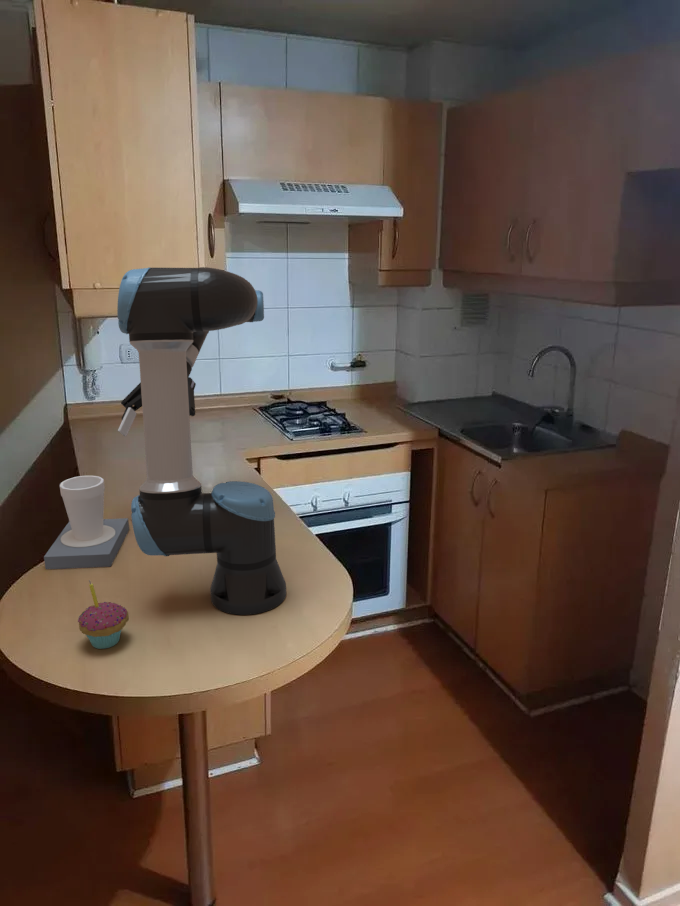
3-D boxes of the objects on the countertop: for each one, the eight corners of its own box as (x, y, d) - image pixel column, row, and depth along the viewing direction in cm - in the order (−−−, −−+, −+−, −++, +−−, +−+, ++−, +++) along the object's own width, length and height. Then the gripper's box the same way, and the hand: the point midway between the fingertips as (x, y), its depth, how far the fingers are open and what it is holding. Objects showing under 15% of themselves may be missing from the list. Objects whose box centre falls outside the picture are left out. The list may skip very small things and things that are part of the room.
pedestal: (110, 566, 156) (109, 552, 155) (45, 569, 155) (43, 555, 154) (129, 529, 175) (127, 517, 174) (71, 531, 174) (69, 519, 173)
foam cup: (95, 523, 170) (89, 472, 166) (118, 533, 164) (111, 481, 160) (59, 536, 163) (51, 483, 159) (81, 547, 157) (73, 493, 153)
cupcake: (71, 649, 125) (62, 589, 122) (102, 625, 133) (94, 567, 129) (110, 659, 122) (102, 597, 119) (140, 633, 130) (134, 575, 126)
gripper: (227, 373, 172) (196, 449, 164) (145, 367, 182) (112, 438, 174) (213, 355, 166) (181, 433, 158) (129, 350, 176) (94, 423, 167)
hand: (144, 436), depth 166 cm, fingers open, 13 cm apart
